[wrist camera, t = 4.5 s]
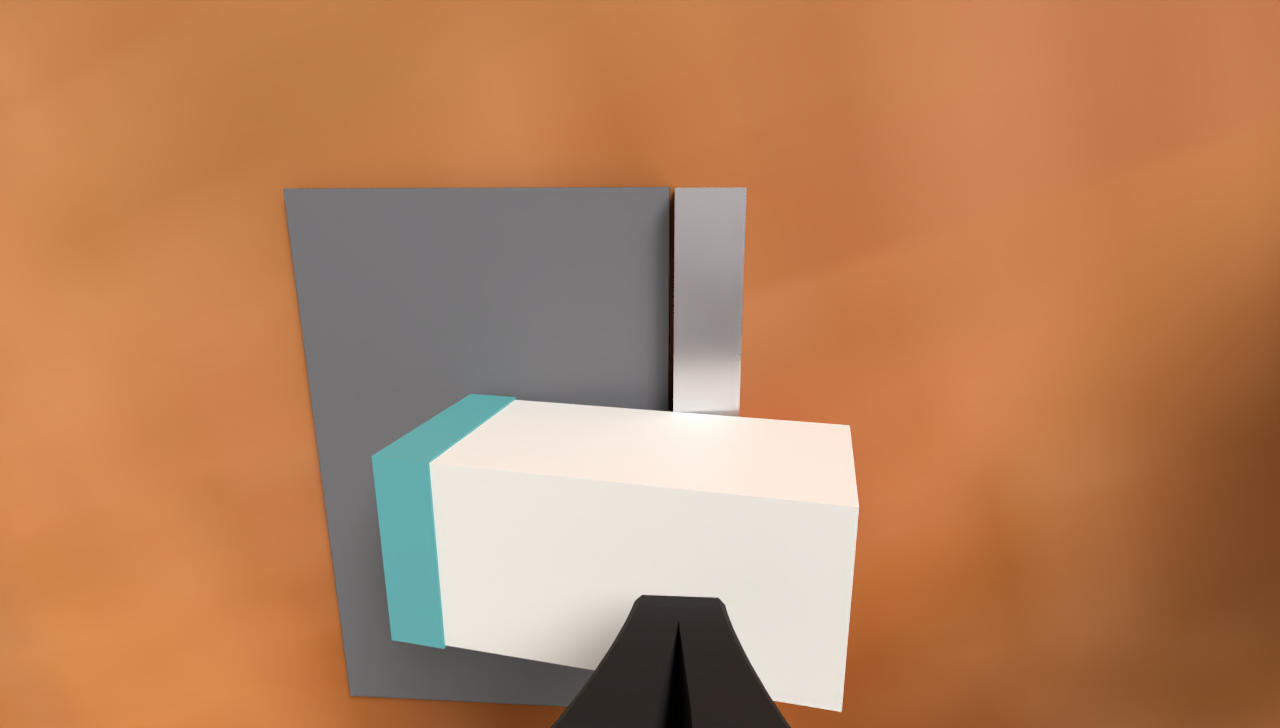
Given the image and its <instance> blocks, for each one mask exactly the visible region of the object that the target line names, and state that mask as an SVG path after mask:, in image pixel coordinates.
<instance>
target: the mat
mask: <svg viewBox="0 0 1280 728" xmlns="http://www.w3.org/2000/svg"><path fill="white" fill-rule="evenodd" d="M283 191H284V198H285V206H286V213H287V221H288V228H289V236H290V244H291V251H292V259H293V266H294V274H295V281H296V289H297V296H298V304H299V312H300V319H301V327H302V334H303V342H304V349H305V357H306V364H307V372H308V379H309V387H310V395H311V402H312V410H313V417H314V425H315V432H316V440H317V447H318V455H319V463H320V470H321V478H322V485H323V493H324V500H325V508H326V515H327V523H328V530H329V538H330V546H331V553H332V561H333V568H334V576H335V583H336V591H337V598H338V606H339V614H340V621H341V629H342V636H343V644H344V651H345V659H346V666H347V674H348V681H349V689H350V696H368V697H388V698H407V699H427V700H446V701H466V702H485V703H505V704H525V705H544V706H564V707H568V706H569V705H570V703H571V702H572V701H573V699H574V698H575V697H576V695H577V694H578V693H579V692H580V690H581V689H582V688H583V686H584V685H585V684H586V683H587V681H588V680H589V678H590V677H591V676H592V674H593V673H594V671H595V670H589V669H583V668H577V667H571V666H565V665H559V664H553V663H548V662H542V661H536V660H530V659H524V658H518V657H512V656H506V655H500V654H494V653H488V652H482V651H476V650H470V649H464V648H458V647H452V646H446V647H445V648H444V649H442V648H436V647H430V646H424V645H418V644H412V643H406V642H400V641H394V640H392V638H391V629H390V620H389V611H388V601H387V592H386V583H385V574H384V565H383V556H382V547H381V537H380V528H379V519H378V510H377V501H376V492H375V483H374V473H373V464H372V455H374V454H376V453H377V452H379V451H380V450H382V449H384V448H385V447H387V446H388V445H390V444H391V443H393V442H395V441H396V440H398V439H399V438H401V437H403V436H404V435H406V434H407V433H409V432H411V431H412V430H414V429H415V428H417V427H419V426H420V425H422V424H423V423H425V422H426V421H428V420H430V419H431V418H433V417H434V416H436V415H438V414H439V413H441V412H442V411H444V410H446V409H447V408H449V407H450V406H452V405H454V404H455V403H457V402H458V401H460V400H462V399H463V398H465V397H466V396H468V395H469V394H481V395H494V396H507V397H516V400H525V401H538V402H551V403H564V404H577V405H591V406H604V407H617V408H630V409H643V410H656V411H669V233H670V187H568V188H332V189H283Z"/></svg>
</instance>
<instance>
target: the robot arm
mask: <svg viewBox="0 0 1280 728" xmlns="http://www.w3.org/2000/svg"><path fill="white" fill-rule="evenodd" d="M551 728H791V727H790V726H789V724H788V723H787V721H786V720H785V718H784V717H783V715H782V714H781V712H780V711H779V709H778V708H777V706H776V705H775V703H774V702H773V700H772V699H771V697H770V695H769V694H768V692H767V690H766V689H765V687H764V685H763V684H762V682H761V680H760V678H759V677H758V675H757V673H756V671H755V670H754V668H753V666H752V665H751V663H750V661H749V659H748V657H747V655H746V653H745V651H744V649H743V647H742V645H741V643H740V641H739V639H738V637H737V635H736V633H735V631H734V628H733V626H732V624H731V621H730V618H729V616H728V613H727V610H726V606H725V604H724V603H723V602H722V601H721V600H720V599H719V598H714V597H687V596H660V595H641V596H640V597H639V598H638V599H636V600H635V601H634V604H633V606H632V609H631V611H630V613H629V615H628V617H627V619H626V621H625V623H624V625H623V627H622V628H621V630H620V632H619V634H618V635H617V637H616V639H615V640H614V642H613V644H612V645H611V647H610V648H609V650H608V651H607V653H606V654H605V656H604V657H603V659H602V661H601V662H600V664H599V665H598V667H597V668H596V670H595V671H594V673H593V674H592V676H591V677H590V678H589V680H588V681H587V683H586V684H585V685H584V686H583V688H582V689H581V690H580V692H579V693H578V694H577V695H576V697H575V698H574V699H573V701H572V702H571V703H570V705H569V706H568V707H567V708H566V710H565V711H564V712H563V714H562V715H561V716H560V717H559V719H558V720H557V721H556V722H555V723H554V724H553V726H552V727H551Z"/></svg>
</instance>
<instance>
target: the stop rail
mask: <svg viewBox="0 0 1280 728" xmlns="http://www.w3.org/2000/svg"><path fill="white" fill-rule="evenodd" d="M745 217H746V187H676V188H675V238H674V377H673V412H682V413H695V414H708V415H721V416H734V417H739V400H740V370H741V339H742V309H743V278H744V248H745Z"/></svg>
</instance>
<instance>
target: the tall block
mask: <svg viewBox="0 0 1280 728" xmlns="http://www.w3.org/2000/svg"><path fill="white" fill-rule="evenodd" d="M372 464H373V473H374V483H375V492H376V501H377V510H378V519H379V528H380V537H381V547H382V556H383V565H384V574H385V583H386V592H387V601H388V611H389V620H390V629H391V638H392V640H394V641H400V642H406V643H412V644H418V645H424V646H430V647H436V648H442V649H444V648H445V647H446V646H452V647H458V648H464V649H470V650H476V651H482V652H488V653H494V654H500V655H506V656H512V657H518V658H524V659H530V660H536V661H542V662H548V663H553V664H559V665H565V666H571V667H577V668H583V669H589V670H596V668H597V667H598V665H599V664H600V662H601V661H602V659H603V657H604V656H605V654H606V653H607V651H608V650H609V648H610V647H611V645H612V644H613V642H614V640H615V639H616V637H617V635H618V634H619V632H620V630H621V628H622V627H623V625H624V623H625V621H626V619H627V617H628V615H629V613H630V611H631V609H632V606H633V604H634V601H635V600H636V599H638V598H639V597H640V596H641V595H660V596H687V597H714V598H719V599H720V600H721V601H722V602H723V603H724V604H725V606H726V610H727V613H728V616H729V618H730V621H731V624H732V626H733V628H734V631H735V633H736V635H737V637H738V639H739V641H740V643H741V645H742V647H743V649H744V651H745V653H746V655H747V657H748V659H749V661H750V663H751V665H752V666H753V668H754V670H755V671H756V673H757V675H758V677H759V678H760V680H761V682H762V684H763V685H764V687H765V689H766V690H767V692H768V694H769V695H770V697H771V699H772V700H774V701H779V702H785V703H791V704H797V705H803V706H809V707H815V708H821V709H827V710H833V711H839V712H842V702H843V690H844V678H845V666H846V655H847V643H848V631H849V619H850V607H851V596H852V584H853V572H854V560H855V549H856V537H857V525H858V513H859V503H858V494H857V485H856V476H855V468H854V459H853V450H852V441H851V433H850V425H838V424H825V423H812V422H799V421H786V420H773V419H760V418H747V417H734V416H721V415H708V414H695V413H682V412H669V411H656V410H643V409H630V408H617V407H604V406H591V405H577V404H564V403H551V402H538V401H525V400H516V397H507V396H494V395H481V394H469V395H468V396H466V397H465V398H463V399H462V400H460V401H458V402H457V403H455V404H454V405H452V406H450V407H449V408H447V409H446V410H444V411H442V412H441V413H439V414H438V415H436V416H434V417H433V418H431V419H430V420H428V421H426V422H425V423H423V424H422V425H420V426H419V427H417V428H415V429H414V430H412V431H411V432H409V433H407V434H406V435H404V436H403V437H401V438H399V439H398V440H396V441H395V442H393V443H391V444H390V445H388V446H387V447H385V448H384V449H382V450H380V451H379V452H377V453H376V454H374V455H372Z"/></svg>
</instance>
